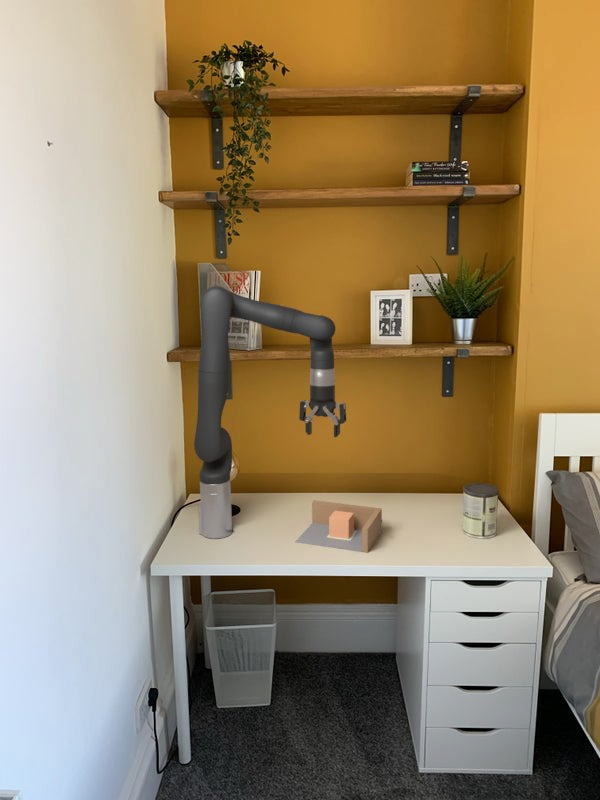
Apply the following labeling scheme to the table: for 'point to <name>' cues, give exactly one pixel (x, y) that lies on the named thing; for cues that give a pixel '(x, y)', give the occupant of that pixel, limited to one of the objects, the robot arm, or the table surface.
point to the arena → (364, 527)
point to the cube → (341, 524)
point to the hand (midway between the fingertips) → (322, 435)
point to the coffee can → (480, 510)
